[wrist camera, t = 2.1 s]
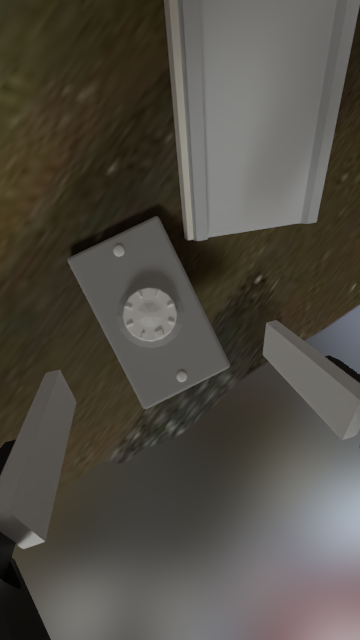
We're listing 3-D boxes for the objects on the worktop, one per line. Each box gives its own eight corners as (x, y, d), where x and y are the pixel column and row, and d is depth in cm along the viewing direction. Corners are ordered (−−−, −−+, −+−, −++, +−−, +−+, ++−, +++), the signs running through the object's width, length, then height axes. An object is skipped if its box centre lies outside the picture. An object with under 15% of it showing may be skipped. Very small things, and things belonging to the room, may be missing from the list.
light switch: (157, 208, 17) (234, 370, 18) (160, 235, 23) (218, 355, 24) (59, 255, 17) (142, 416, 18) (88, 269, 23) (149, 390, 24)
